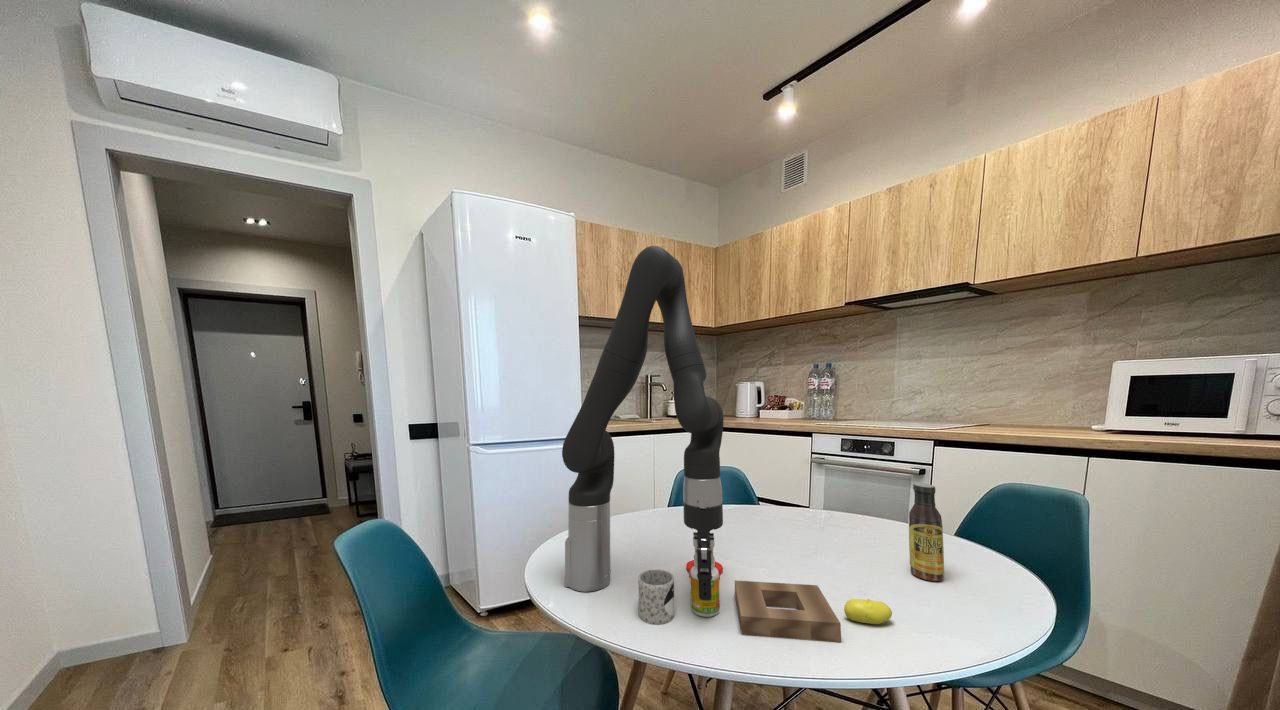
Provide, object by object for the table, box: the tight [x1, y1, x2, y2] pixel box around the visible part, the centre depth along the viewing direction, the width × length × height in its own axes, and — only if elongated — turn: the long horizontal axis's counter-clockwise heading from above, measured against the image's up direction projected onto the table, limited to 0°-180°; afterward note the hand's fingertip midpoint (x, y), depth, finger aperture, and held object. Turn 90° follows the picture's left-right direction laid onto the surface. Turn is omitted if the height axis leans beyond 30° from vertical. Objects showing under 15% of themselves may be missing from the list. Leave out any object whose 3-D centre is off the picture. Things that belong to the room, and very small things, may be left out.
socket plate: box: [734, 580, 842, 643], centre depth 73 cm, size 16×13×3 cm
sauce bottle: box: [908, 482, 945, 582], centre depth 89 cm, size 6×6×20 cm
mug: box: [638, 568, 675, 626], centre depth 76 cm, size 10×7×7 cm
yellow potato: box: [843, 598, 893, 625], centre depth 71 cm, size 4×8×4 cm, turn 78°
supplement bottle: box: [689, 554, 721, 618], centre depth 76 cm, size 5×5×10 cm
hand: (704, 590), depth 76 cm, fingers closed on supplement bottle, 5 cm apart
